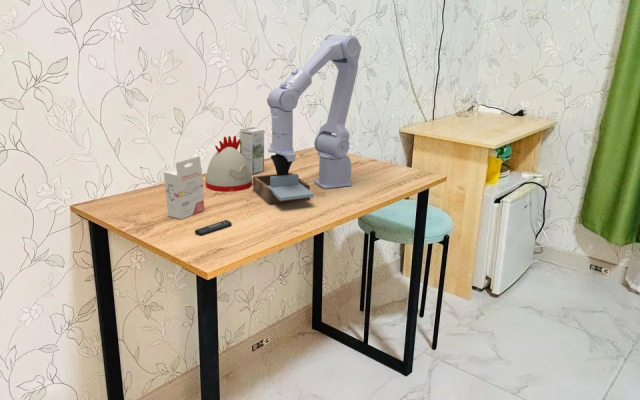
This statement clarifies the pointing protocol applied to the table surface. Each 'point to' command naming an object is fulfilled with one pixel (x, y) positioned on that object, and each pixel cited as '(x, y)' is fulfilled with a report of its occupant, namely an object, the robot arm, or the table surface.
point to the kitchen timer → (228, 168)
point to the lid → (288, 187)
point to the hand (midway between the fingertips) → (282, 180)
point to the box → (266, 193)
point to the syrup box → (253, 148)
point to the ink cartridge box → (184, 189)
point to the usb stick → (213, 228)
